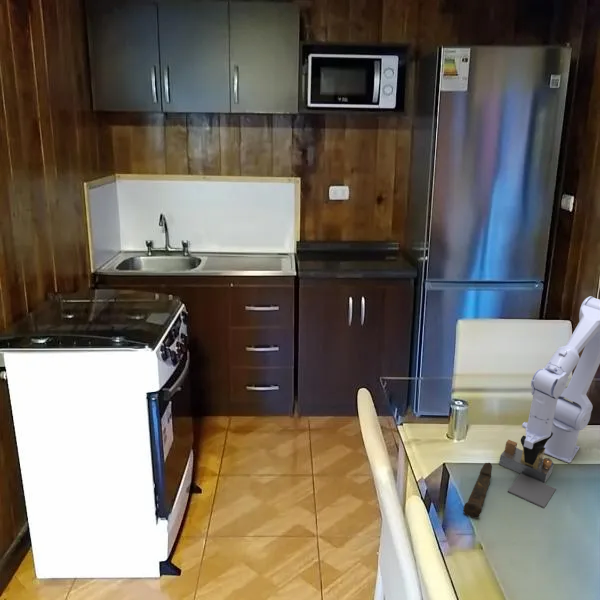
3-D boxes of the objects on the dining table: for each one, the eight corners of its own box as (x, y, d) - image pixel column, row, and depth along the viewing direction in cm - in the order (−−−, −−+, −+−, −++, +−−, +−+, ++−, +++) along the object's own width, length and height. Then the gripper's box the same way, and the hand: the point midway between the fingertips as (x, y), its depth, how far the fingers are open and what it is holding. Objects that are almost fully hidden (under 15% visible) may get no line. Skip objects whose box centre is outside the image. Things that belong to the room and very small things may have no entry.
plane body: (507, 454, 165) (510, 435, 163) (551, 472, 158) (556, 453, 156) (498, 464, 160) (502, 445, 158) (544, 483, 154) (548, 464, 151)
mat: (520, 474, 157) (520, 473, 156) (555, 489, 152) (556, 488, 151) (507, 491, 150) (507, 490, 150) (544, 508, 145) (544, 507, 145)
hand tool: (478, 521, 140) (482, 505, 139) (462, 514, 142) (464, 498, 140) (498, 478, 156) (501, 463, 154) (482, 472, 157) (485, 457, 156)
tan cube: (526, 454, 160) (528, 441, 159) (542, 460, 158) (545, 448, 156) (520, 460, 157) (523, 448, 156) (537, 467, 155) (540, 455, 153)
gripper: (535, 397, 160) (526, 440, 165) (515, 420, 149) (506, 465, 154) (562, 407, 156) (552, 451, 161) (544, 430, 145) (534, 477, 150)
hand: (532, 458), depth 157 cm, fingers closed on tan cube, 4 cm apart
